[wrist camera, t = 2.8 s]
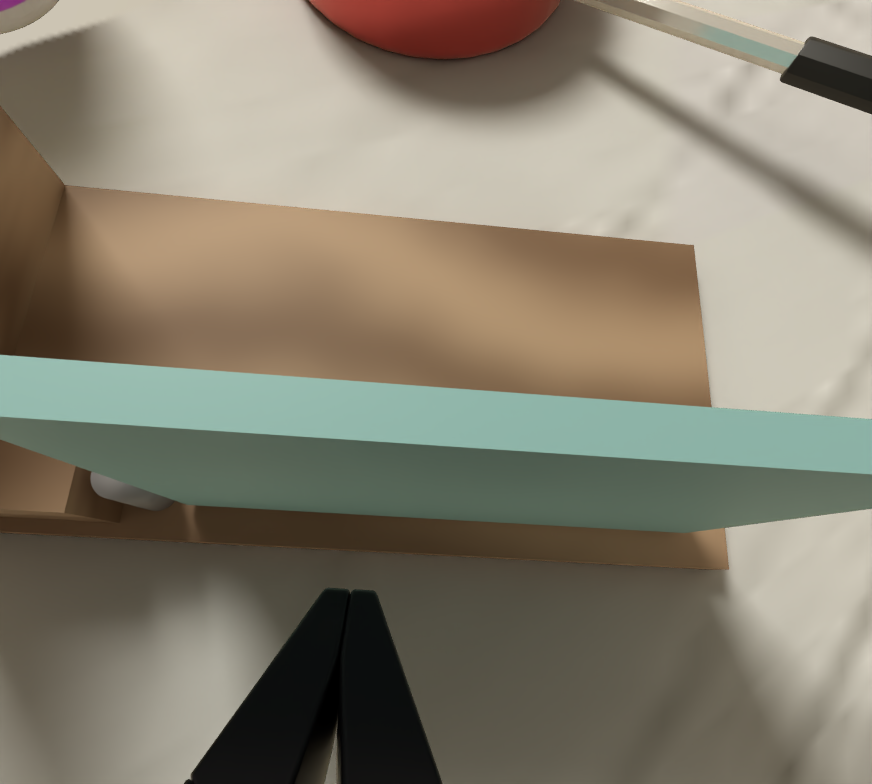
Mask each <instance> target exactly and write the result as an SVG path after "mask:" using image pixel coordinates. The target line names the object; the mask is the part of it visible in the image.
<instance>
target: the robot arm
mask: <svg viewBox="0 0 872 784" xmlns="http://www.w3.org/2000/svg"><path fill="white" fill-rule="evenodd" d="M337 721H338V722H337ZM336 728H337V753H336V784H443V783H442V780H441V777H440V774H439V772H438V769H437V766H436V763H435V760H434V757H433V754H432V751H431V748H430V746H429V743H428V740H427V737H426V734H425V731H424V728H423V725H422V723H421V720H420V717H419V714H418V711H417V708H416V705H415V702H414V700H413V697H412V694H411V691H410V688H409V685H408V682H407V679H406V677H405V674H404V671H403V668H402V665H401V662H400V659H399V656H398V653H397V651H396V648H395V645H394V642H393V639H392V636H391V633H390V630H389V628H388V625H387V622H386V619H385V616H384V613H383V610H382V607H381V605H380V602H379V599H378V596H377V594H376V592H375V591H372V590H356V589H355V590H352V591H351V593H350V592H349V590H347V589H340V588H326V589H325V590H324V591H323V592H322V593H321V594H320V596H319V597H318V599H317V600H316V601H315V603H314V604H313V605H312V607H311V608H310V610H309V611H308V612H307V614H306V615H305V617H304V618H303V619H302V621H301V622H300V623H299V625H298V626H297V628H296V629H295V630H294V632H293V633H292V635H291V636H290V637H289V639H288V640H287V641H286V643H285V644H284V646H283V647H282V648H281V650H280V651H279V653H278V654H277V655H276V657H275V658H274V660H273V661H272V662H271V664H270V665H269V666H268V668H267V669H266V671H265V672H264V673H263V675H262V676H261V678H260V679H259V680H258V682H257V683H256V684H255V686H254V687H253V689H252V690H251V691H250V693H249V694H248V696H247V697H246V698H245V700H244V701H243V703H242V704H241V705H240V707H239V708H238V709H237V711H236V712H235V714H234V715H233V716H232V718H231V719H230V721H229V722H228V723H227V725H226V726H225V727H224V729H223V730H222V732H221V733H220V734H219V736H218V737H217V739H216V740H215V741H214V743H213V744H212V745H211V747H210V748H209V750H208V751H207V752H206V754H205V755H204V757H203V758H202V759H201V761H200V762H199V764H198V765H197V766H196V768H195V769H194V770H193V772H192V773H191V779H188V780H186V781H185V783H184V784H324V783H325V779H326V774H327V770H328V766H329V761H330V757H331V753H332V749H333V744H334V739H335V734H336Z"/></svg>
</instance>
